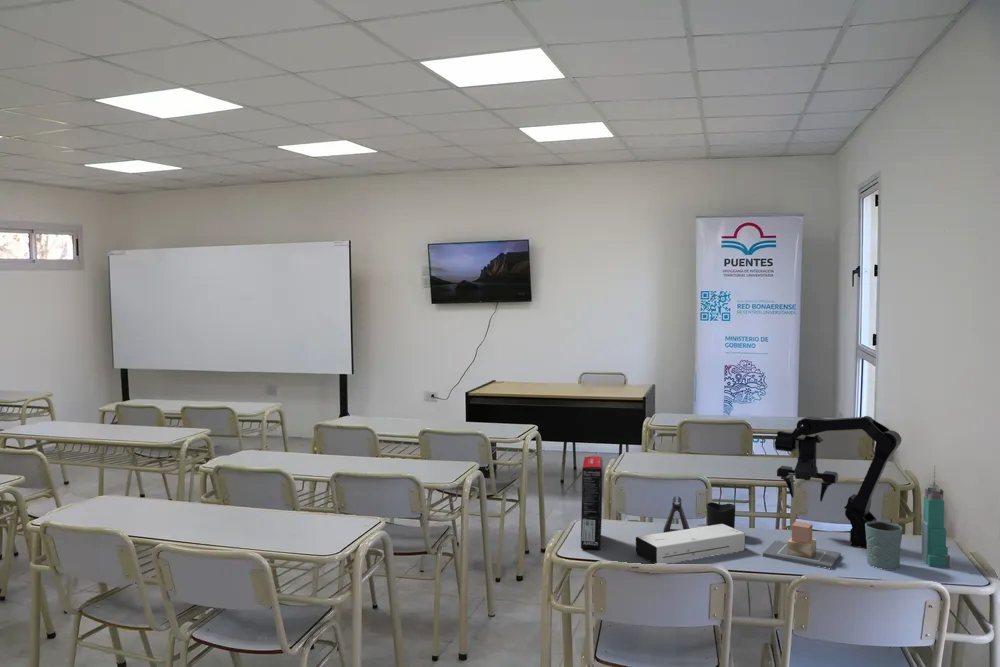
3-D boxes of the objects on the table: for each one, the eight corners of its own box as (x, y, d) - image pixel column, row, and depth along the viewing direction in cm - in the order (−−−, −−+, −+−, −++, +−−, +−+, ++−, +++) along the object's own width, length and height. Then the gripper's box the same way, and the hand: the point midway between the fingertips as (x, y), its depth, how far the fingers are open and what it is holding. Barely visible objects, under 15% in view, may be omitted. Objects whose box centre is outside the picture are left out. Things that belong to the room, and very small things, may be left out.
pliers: (690, 531, 257) (690, 497, 256) (690, 536, 251) (690, 501, 250) (663, 529, 259) (663, 495, 258) (663, 534, 253) (663, 500, 253)
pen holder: (719, 528, 260) (720, 500, 259) (741, 535, 251) (741, 506, 251) (700, 533, 255) (700, 504, 254) (721, 540, 247) (722, 511, 246)
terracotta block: (812, 539, 232) (812, 523, 231) (808, 543, 227) (808, 527, 227) (795, 536, 234) (795, 521, 234) (791, 541, 230) (791, 525, 230)
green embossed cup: (873, 570, 218) (874, 530, 218) (858, 558, 229) (859, 520, 228) (908, 570, 218) (909, 530, 218) (891, 558, 228) (892, 520, 228)
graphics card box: (582, 533, 255) (582, 455, 254) (602, 534, 254) (602, 455, 253) (580, 550, 238) (580, 466, 237) (602, 551, 237) (602, 467, 236)
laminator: (656, 567, 223) (656, 547, 223) (633, 554, 235) (633, 535, 234) (745, 552, 236) (745, 533, 236) (719, 540, 248) (720, 522, 247)
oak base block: (816, 551, 232) (816, 539, 232) (810, 558, 226) (811, 545, 226) (792, 547, 236) (793, 535, 236) (787, 553, 230) (787, 541, 230)
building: (943, 560, 226) (945, 463, 225) (950, 567, 220) (952, 468, 219) (921, 559, 228) (923, 463, 226) (928, 566, 222) (930, 467, 220)
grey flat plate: (840, 555, 231) (840, 552, 231) (831, 569, 220) (831, 565, 220) (774, 543, 243) (774, 540, 243) (762, 556, 231) (762, 552, 231)
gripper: (772, 455, 250) (772, 500, 251) (832, 461, 240) (831, 509, 240) (781, 449, 259) (780, 493, 260) (838, 455, 249) (838, 501, 249)
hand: (806, 499), depth 252 cm, fingers open, 9 cm apart
